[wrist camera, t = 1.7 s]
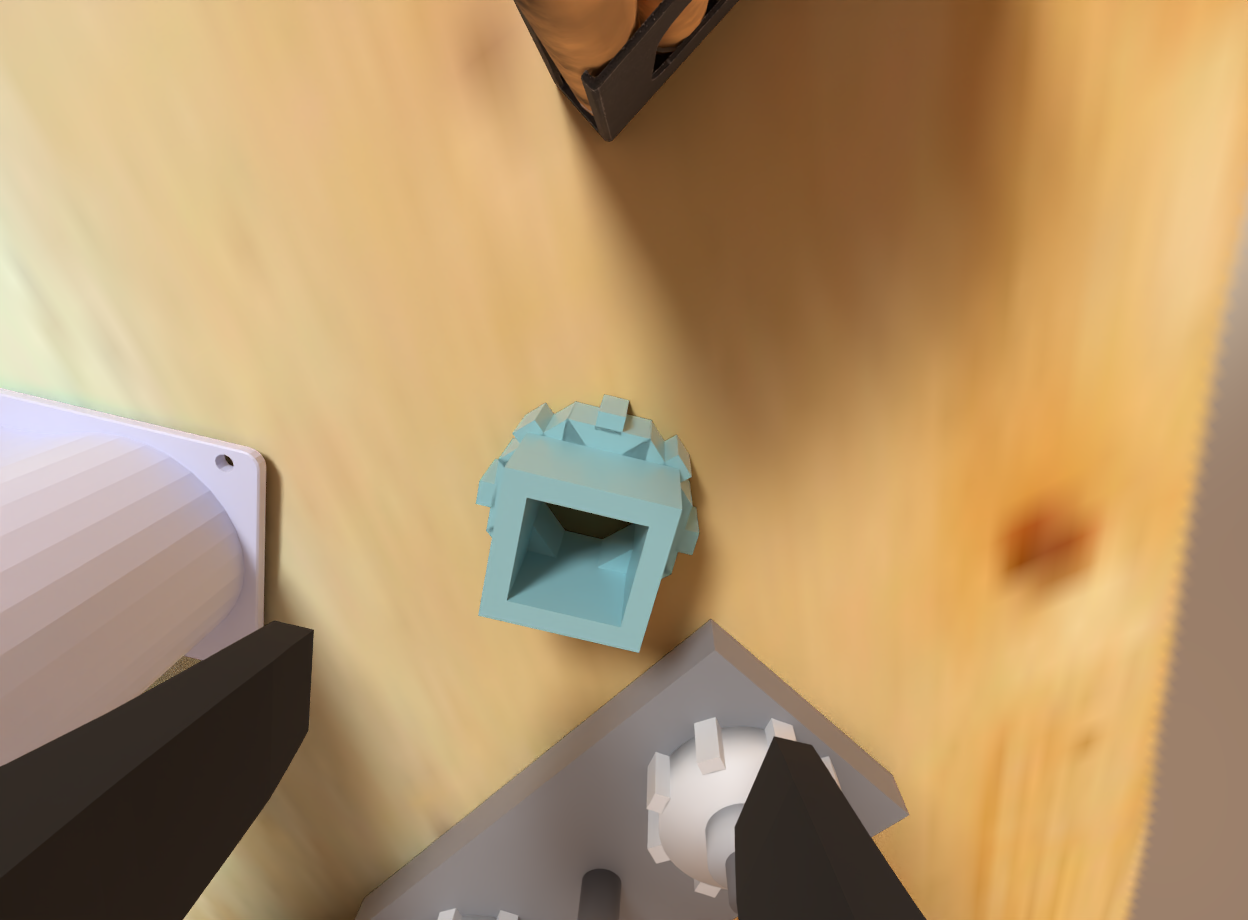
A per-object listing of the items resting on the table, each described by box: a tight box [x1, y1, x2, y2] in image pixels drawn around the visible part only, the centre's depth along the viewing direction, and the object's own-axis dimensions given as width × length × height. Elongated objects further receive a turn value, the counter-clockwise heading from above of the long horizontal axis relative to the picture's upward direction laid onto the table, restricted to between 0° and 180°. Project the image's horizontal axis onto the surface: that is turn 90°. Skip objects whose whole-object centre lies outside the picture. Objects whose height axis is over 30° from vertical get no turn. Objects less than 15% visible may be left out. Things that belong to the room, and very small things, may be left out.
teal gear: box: [476, 394, 699, 653], centre depth 16 cm, size 6×6×4 cm
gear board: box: [355, 619, 909, 920], centre depth 21 cm, size 20×9×5 cm, turn 137°
